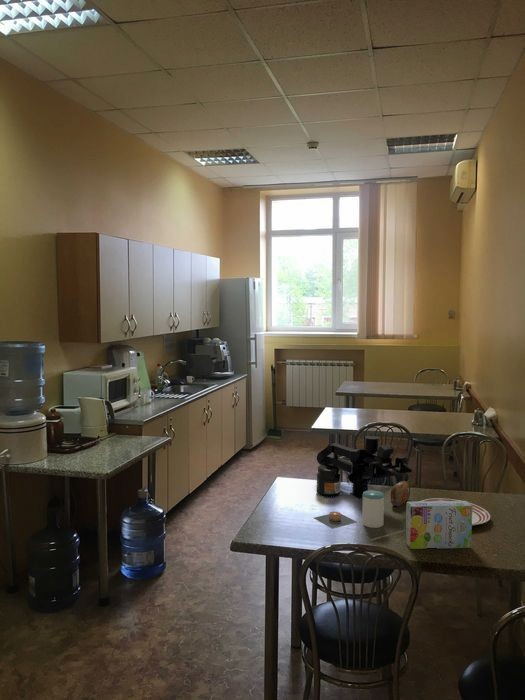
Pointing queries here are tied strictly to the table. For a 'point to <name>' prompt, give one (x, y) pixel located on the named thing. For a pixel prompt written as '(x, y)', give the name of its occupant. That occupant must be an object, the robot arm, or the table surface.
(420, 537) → the snack box
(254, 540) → the table surface
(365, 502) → the white canister
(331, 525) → the mat
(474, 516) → the dinner plate
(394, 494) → the tin
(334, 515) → the brown pebble
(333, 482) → the supplement container
